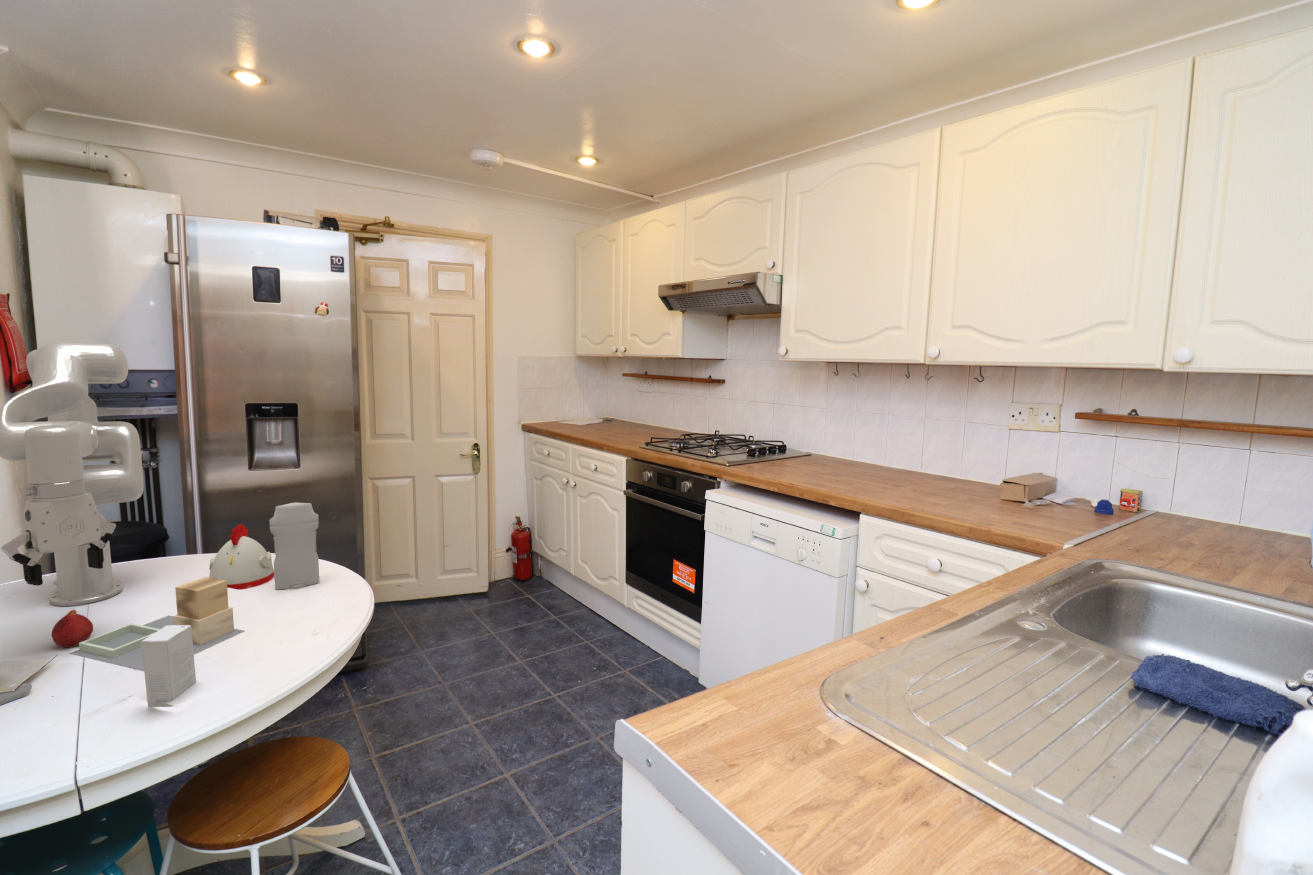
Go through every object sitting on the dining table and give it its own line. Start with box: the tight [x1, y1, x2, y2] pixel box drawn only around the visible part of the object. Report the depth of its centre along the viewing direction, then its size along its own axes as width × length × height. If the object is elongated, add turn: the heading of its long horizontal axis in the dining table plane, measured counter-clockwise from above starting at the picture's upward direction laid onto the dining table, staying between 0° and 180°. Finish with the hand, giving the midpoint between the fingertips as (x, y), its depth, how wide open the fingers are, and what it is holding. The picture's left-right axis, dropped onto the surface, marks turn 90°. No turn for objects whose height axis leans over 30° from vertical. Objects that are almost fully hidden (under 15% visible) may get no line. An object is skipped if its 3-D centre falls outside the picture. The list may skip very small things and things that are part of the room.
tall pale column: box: [268, 502, 320, 591], centre depth 151 cm, size 11×4×22 cm, turn 125°
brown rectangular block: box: [172, 606, 235, 645], centre depth 122 cm, size 7×7×5 cm
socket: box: [78, 622, 160, 658], centre depth 118 cm, size 9×9×2 cm
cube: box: [174, 576, 230, 620], centre depth 122 cm, size 6×6×6 cm
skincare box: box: [141, 625, 197, 708], centre depth 102 cm, size 6×4×12 cm
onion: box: [50, 609, 94, 648], centre depth 117 cm, size 6×6×8 cm
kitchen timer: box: [208, 523, 275, 591], centre depth 154 cm, size 14×14×15 cm
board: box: [69, 615, 246, 672], centre depth 119 cm, size 22×18×1 cm
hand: (66, 575), depth 115 cm, fingers open, 9 cm apart
